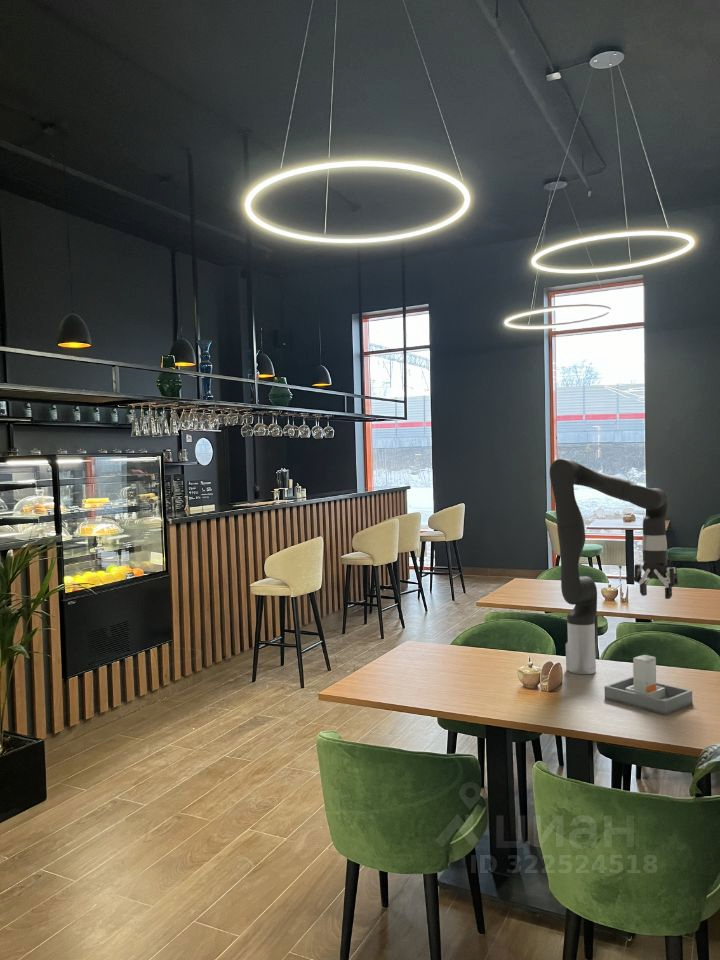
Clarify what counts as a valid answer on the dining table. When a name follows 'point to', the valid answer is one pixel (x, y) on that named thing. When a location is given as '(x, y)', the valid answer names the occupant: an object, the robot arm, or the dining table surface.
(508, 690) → the dining table surface
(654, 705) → the walled box
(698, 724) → the dining table surface
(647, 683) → the skincare box
